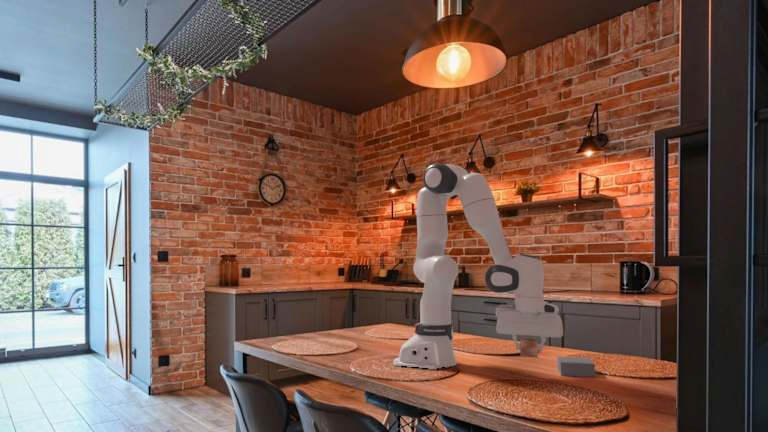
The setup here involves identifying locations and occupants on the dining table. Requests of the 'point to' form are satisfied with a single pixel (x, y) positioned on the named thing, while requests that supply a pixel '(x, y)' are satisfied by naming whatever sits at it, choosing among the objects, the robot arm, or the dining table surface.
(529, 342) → the cube
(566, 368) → the base block
